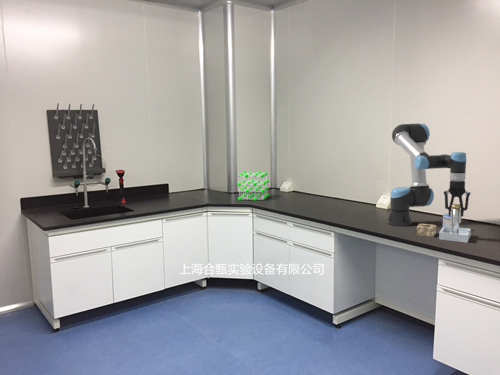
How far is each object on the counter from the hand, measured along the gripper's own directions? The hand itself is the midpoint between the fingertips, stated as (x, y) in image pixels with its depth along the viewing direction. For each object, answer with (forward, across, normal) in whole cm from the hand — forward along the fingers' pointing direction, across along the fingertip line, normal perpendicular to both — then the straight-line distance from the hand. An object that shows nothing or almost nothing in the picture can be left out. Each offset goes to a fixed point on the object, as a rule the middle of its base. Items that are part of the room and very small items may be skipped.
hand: (455, 221), depth 225 cm
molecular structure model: (+9, -175, +60) cm, 185 cm away
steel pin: (+7, 0, 0) cm, 7 cm away
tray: (+9, 0, 0) cm, 9 cm away
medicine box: (+9, -5, +20) cm, 23 cm away
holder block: (+9, -15, 0) cm, 18 cm away
